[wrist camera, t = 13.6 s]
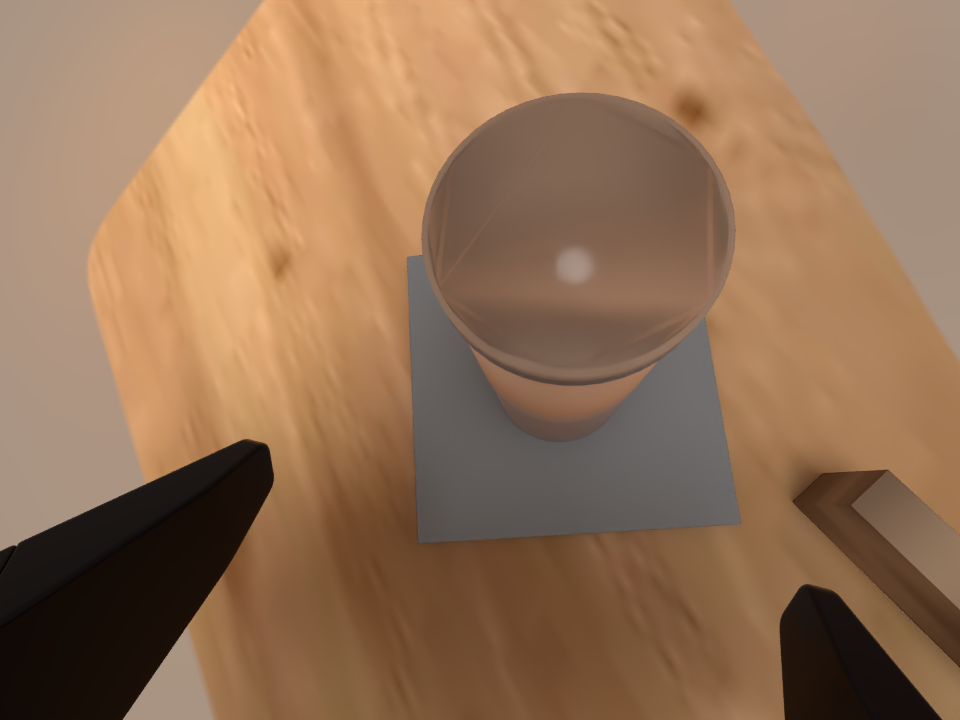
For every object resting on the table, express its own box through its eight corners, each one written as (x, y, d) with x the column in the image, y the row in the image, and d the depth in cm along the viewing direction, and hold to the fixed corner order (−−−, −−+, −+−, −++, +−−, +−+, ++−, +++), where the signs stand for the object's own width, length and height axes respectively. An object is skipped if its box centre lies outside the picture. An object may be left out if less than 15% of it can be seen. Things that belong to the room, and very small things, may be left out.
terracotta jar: (652, 385, 21) (806, 231, 9) (552, 472, 21) (559, 444, 8) (563, 292, 22) (584, 41, 10) (468, 373, 22) (364, 219, 10)
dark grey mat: (735, 523, 20) (740, 523, 20) (421, 542, 21) (417, 543, 21) (684, 230, 23) (688, 223, 22) (410, 262, 24) (407, 256, 24)
